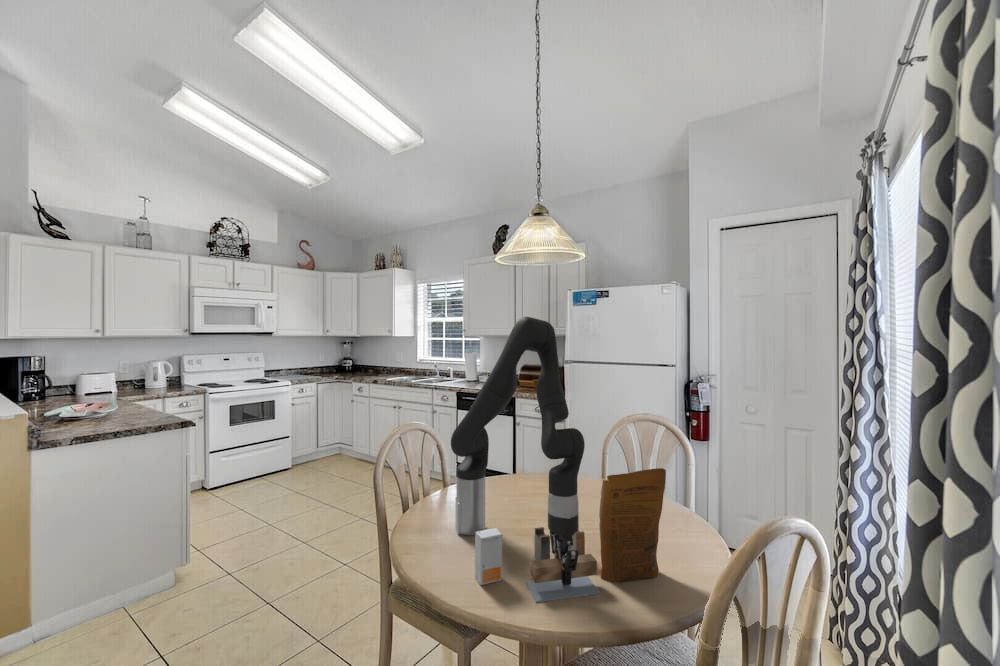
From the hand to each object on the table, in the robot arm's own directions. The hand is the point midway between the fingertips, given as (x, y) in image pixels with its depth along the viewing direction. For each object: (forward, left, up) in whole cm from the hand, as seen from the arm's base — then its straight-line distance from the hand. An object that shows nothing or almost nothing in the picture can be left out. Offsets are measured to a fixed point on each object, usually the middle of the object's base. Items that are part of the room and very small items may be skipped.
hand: (563, 579), depth 109 cm
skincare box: (-17, +8, -2) cm, 19 cm away
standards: (+4, +13, -2) cm, 14 cm away
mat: (0, 0, -2) cm, 2 cm away
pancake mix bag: (+19, +1, -2) cm, 19 cm away
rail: (0, 0, +1) cm, 1 cm away
